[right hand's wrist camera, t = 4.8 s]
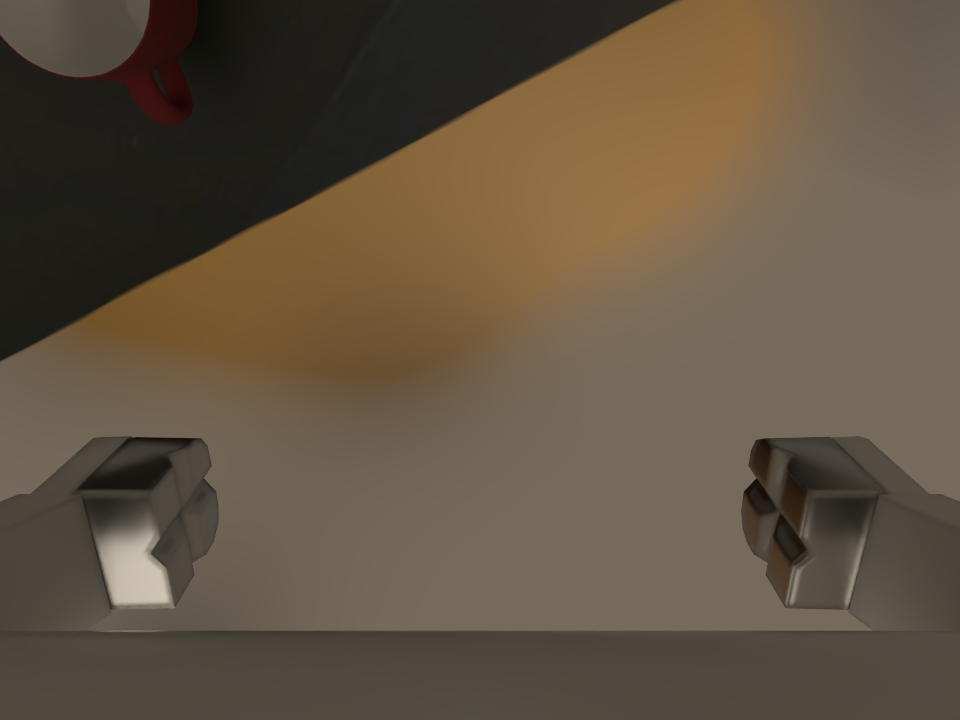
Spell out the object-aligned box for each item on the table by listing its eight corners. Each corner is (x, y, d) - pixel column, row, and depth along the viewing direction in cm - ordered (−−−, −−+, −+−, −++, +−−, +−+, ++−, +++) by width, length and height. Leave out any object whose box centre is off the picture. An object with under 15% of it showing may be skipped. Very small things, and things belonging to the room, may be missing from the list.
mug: (278, 83, 41) (219, 81, 32) (169, 143, 42) (81, 159, 33) (176, -103, 37) (75, -166, 28) (60, -30, 39) (-73, -67, 29)
